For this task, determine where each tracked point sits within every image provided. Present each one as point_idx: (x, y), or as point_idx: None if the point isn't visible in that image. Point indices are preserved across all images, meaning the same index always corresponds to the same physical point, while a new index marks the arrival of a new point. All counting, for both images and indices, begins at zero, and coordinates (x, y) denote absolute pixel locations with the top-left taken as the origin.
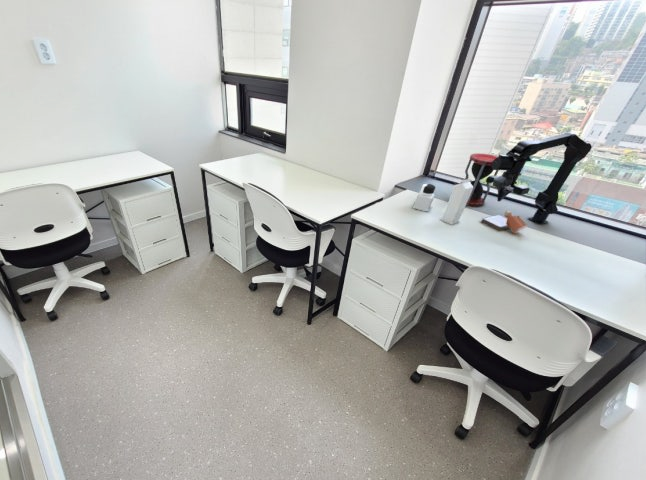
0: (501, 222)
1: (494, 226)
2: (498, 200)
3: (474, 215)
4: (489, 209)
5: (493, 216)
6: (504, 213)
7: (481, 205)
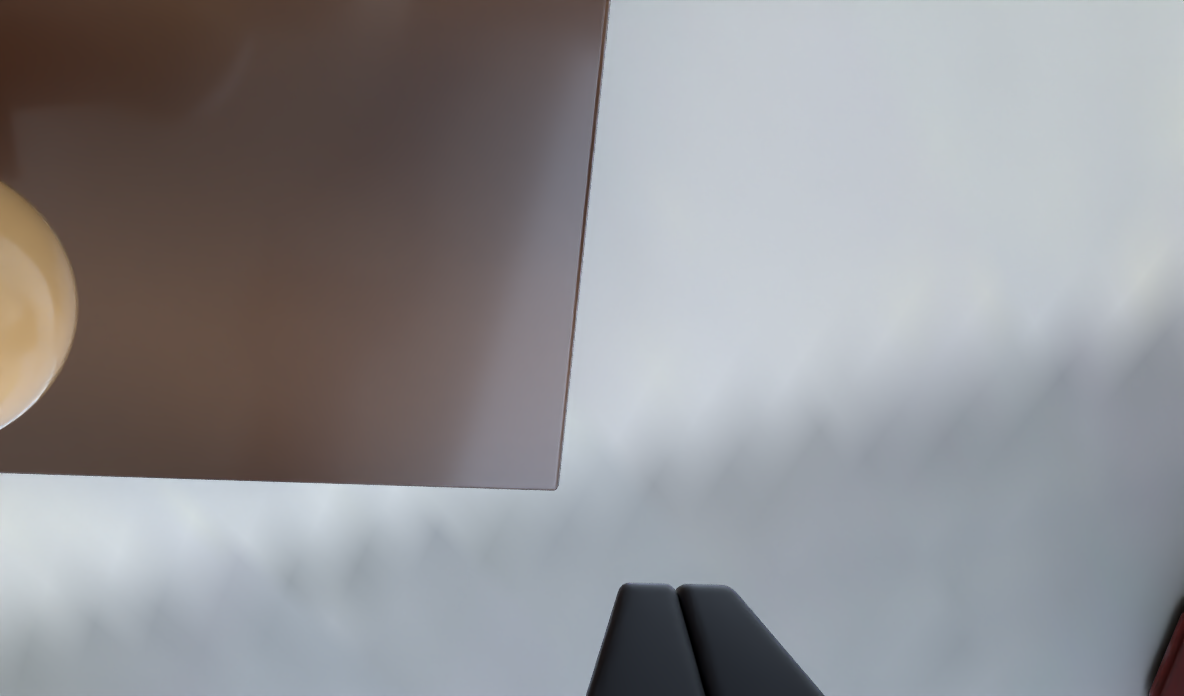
0: (105, 92)
1: None
2: (674, 612)
3: (1043, 4)
4: (946, 669)
5: (562, 270)
6: (9, 229)
7: (1163, 668)
